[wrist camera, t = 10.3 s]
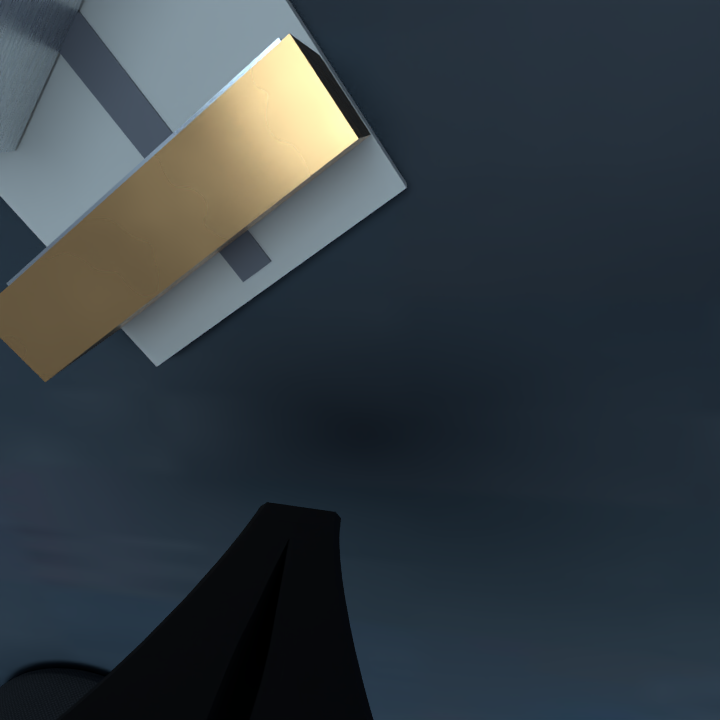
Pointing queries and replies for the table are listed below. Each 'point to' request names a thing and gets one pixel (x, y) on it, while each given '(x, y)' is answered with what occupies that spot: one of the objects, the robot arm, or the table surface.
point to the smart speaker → (44, 693)
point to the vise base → (155, 124)
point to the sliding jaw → (181, 205)
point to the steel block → (28, 58)
